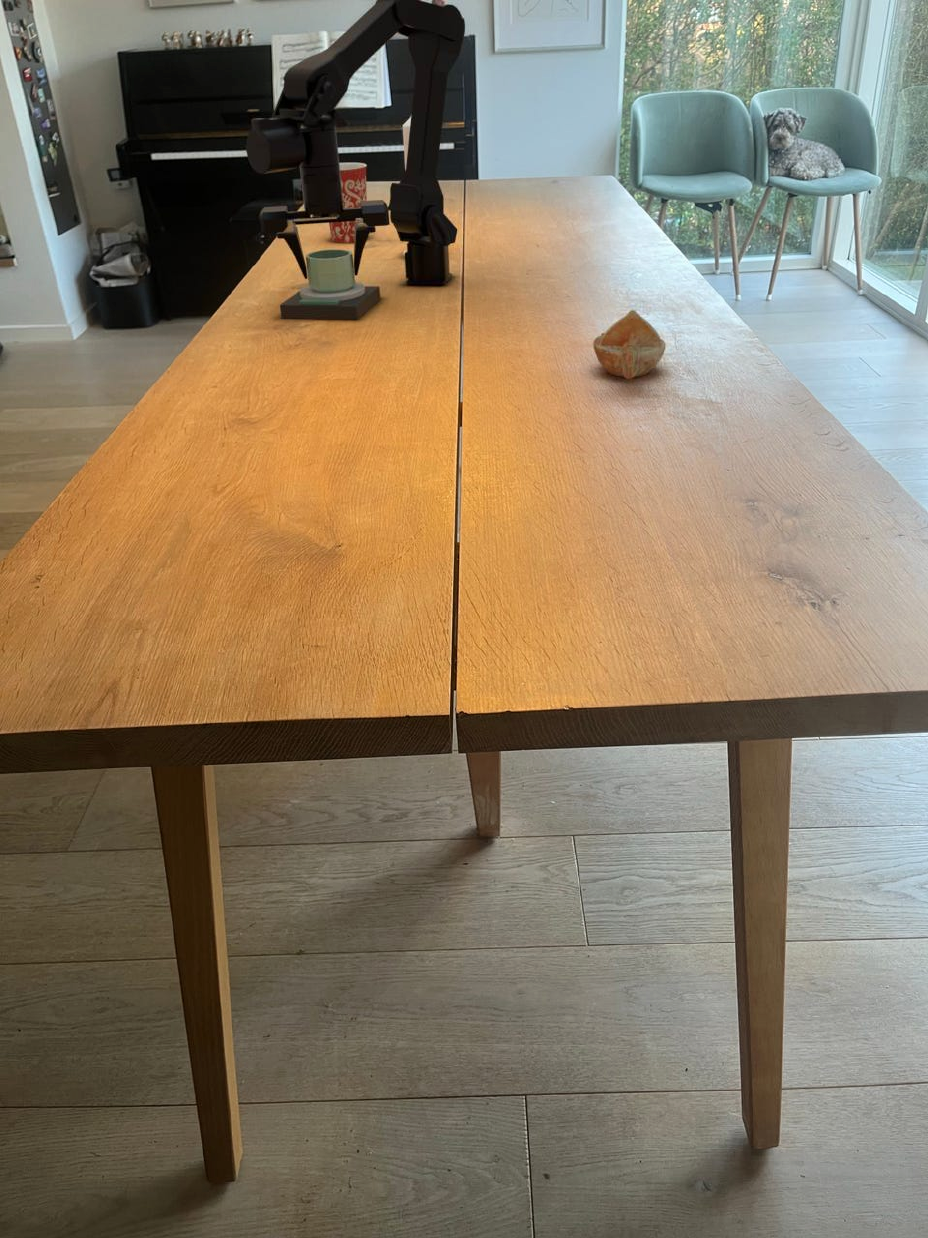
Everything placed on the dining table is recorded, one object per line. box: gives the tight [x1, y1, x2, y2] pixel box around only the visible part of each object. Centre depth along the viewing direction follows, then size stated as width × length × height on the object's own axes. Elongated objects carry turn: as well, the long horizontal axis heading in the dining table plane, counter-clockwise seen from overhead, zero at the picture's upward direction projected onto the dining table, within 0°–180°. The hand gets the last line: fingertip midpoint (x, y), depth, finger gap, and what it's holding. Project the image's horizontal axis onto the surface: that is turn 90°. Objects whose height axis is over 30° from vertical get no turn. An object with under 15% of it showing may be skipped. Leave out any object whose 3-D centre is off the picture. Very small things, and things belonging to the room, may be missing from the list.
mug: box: [328, 162, 368, 244], centre depth 195 cm, size 13×9×14 cm
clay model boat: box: [592, 309, 667, 380], centre depth 119 cm, size 9×21×10 cm, turn 173°
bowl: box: [304, 248, 356, 293], centre depth 150 cm, size 7×7×5 cm
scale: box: [279, 281, 381, 321], centre depth 151 cm, size 12×12×3 cm
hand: (331, 276), depth 150 cm, fingers open, 7 cm apart
